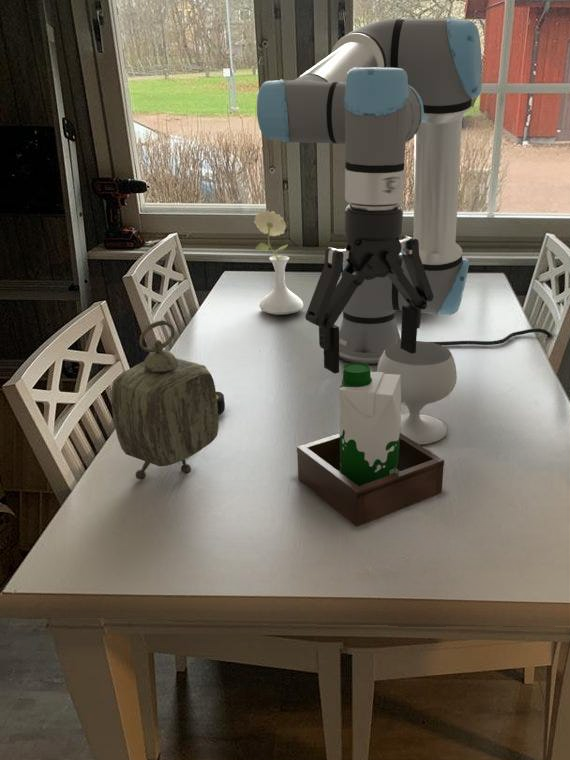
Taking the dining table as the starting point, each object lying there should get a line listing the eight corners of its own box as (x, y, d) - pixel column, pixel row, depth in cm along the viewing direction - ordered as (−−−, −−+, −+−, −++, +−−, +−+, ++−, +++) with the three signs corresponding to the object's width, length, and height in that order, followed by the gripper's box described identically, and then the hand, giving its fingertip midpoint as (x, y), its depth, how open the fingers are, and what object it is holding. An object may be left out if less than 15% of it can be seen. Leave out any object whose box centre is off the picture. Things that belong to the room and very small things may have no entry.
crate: (379, 451, 126) (380, 420, 123) (442, 493, 114) (444, 459, 111) (297, 479, 118) (296, 446, 114) (356, 527, 106) (356, 492, 103)
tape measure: (225, 405, 141) (223, 387, 139) (226, 421, 135) (224, 402, 133) (189, 408, 140) (186, 390, 138) (188, 423, 134) (186, 405, 132)
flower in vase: (312, 309, 191) (309, 210, 179) (285, 321, 183) (281, 218, 170) (273, 301, 197) (267, 204, 184) (245, 312, 189) (238, 211, 176)
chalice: (399, 455, 124) (403, 374, 117) (361, 422, 135) (362, 346, 127) (467, 438, 130) (474, 359, 122) (425, 408, 141) (430, 333, 133)
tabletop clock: (186, 445, 127) (168, 304, 114) (227, 458, 123) (213, 314, 110) (124, 481, 116) (97, 331, 103) (166, 497, 112) (143, 343, 99)
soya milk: (347, 469, 120) (347, 355, 110) (401, 475, 119) (406, 360, 108) (335, 497, 113) (334, 377, 103) (392, 504, 111) (397, 383, 101)
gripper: (307, 220, 85) (311, 388, 96) (465, 199, 97) (453, 350, 108) (275, 209, 90) (282, 370, 101) (429, 191, 103) (421, 336, 114)
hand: (371, 360), depth 105 cm, fingers open, 13 cm apart
